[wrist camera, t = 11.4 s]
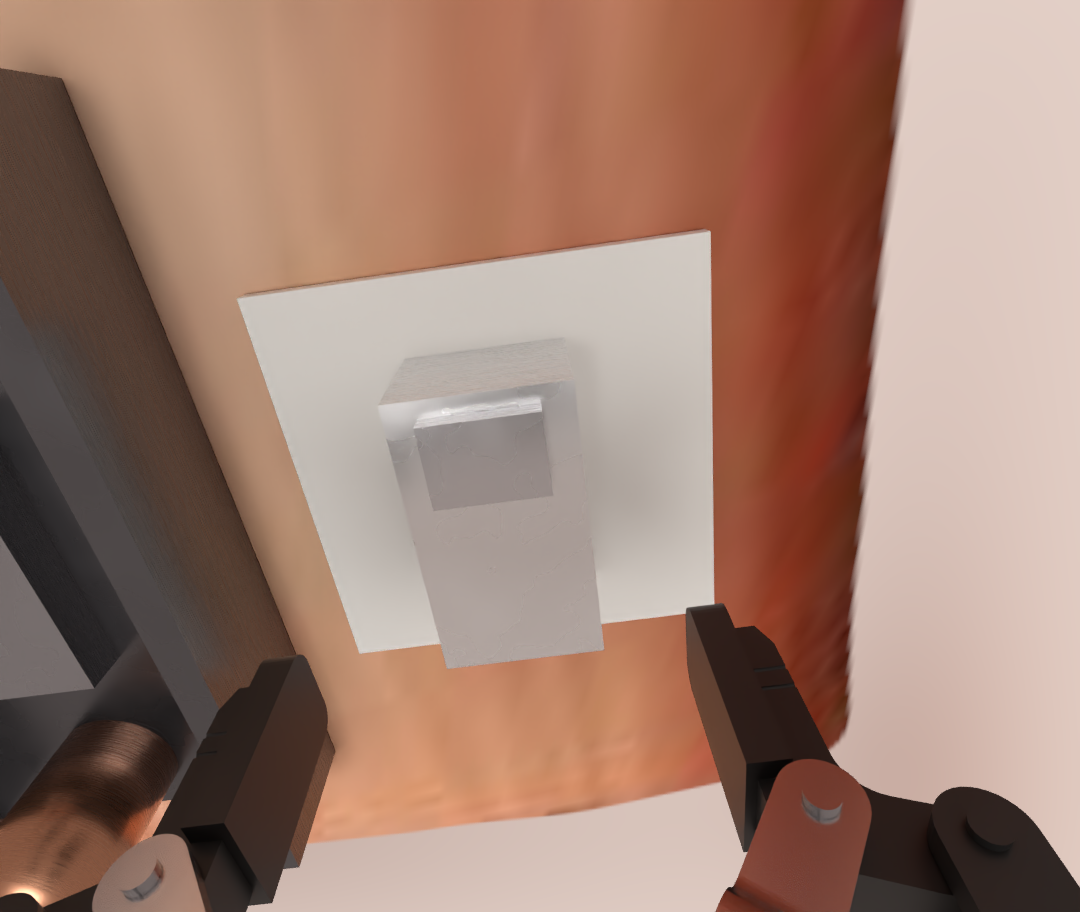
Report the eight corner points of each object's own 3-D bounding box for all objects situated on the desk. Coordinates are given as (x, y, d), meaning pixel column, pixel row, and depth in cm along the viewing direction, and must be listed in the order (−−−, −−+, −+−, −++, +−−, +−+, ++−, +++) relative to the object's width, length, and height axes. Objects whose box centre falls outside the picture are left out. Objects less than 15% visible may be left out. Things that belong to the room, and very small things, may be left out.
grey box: (404, 358, 19) (372, 414, 15) (564, 336, 19) (576, 387, 15) (458, 588, 23) (445, 683, 19) (591, 572, 23) (606, 664, 19)
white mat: (244, 294, 19) (236, 298, 18) (705, 228, 18) (710, 231, 18) (363, 642, 25) (359, 653, 24) (709, 599, 24) (714, 610, 24)
